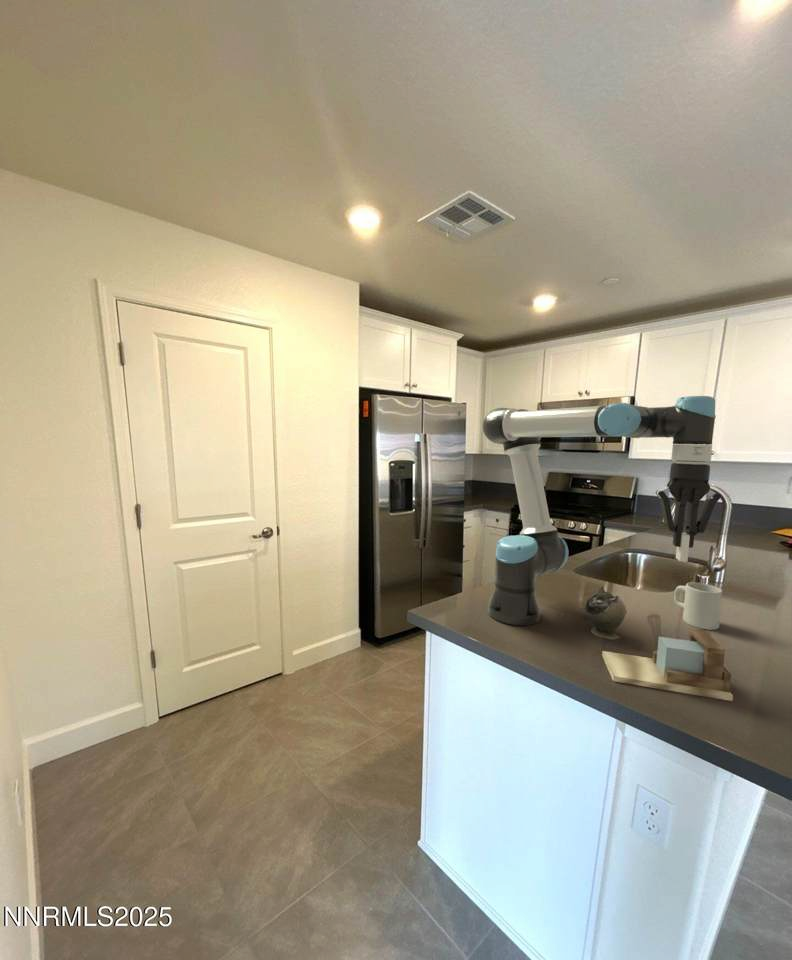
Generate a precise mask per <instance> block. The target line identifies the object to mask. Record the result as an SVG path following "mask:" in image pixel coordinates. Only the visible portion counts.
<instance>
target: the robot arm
mask: <svg viewBox="0 0 792 960" xmlns="http://www.w3.org/2000/svg"><path fill="white" fill-rule="evenodd" d="M716 417H717V416H716V399H715V398H714V397H712V396H710V395H690V396H682V397H678V398H677V399H676V402H675V404H674V405H673V406H666V407H665V406H658V407H647V406H641V405H635V404H630V403H628V402H616V403H610V404H608V405H594V406H579V407H577V406H576V407H565V408H549V409H536V410H529V409H521V408H519V409H517V408H515V407H513V408H509V407H508V408H507V407H496V408H494V409H492V410H490V411H489V412H487V414H486V415H485V417H484V418H483V421H482V432H483V434H484V436H485V437H486V439H487V440H488V441H490V442H492V443H493V444H497V445H502V446H503V452H504V454H506V455H507V456H508V457H509V458H510V463H511V470H512V474H513V480H514V485H515V490H516V491H515V492H516V495H517V501H518V507H519V511H520V516H521V521H522V522H521V523H522V529H521V531H519V534H517V535H507V536H503V537H501V538H500V539H499V540H498V541H497V544H496V551H495V570H494V571H495V576H494V578H495V579H494V588H493V590H492V594H491V595H490V598H489V600H488V604H487V613H488V615H489V616H490V617H491V618H492V619H494V620H495V621H498V622H501V623H503V624H509V625H513V626H530V625H534V624H536V623H538V622H539V621H540V618H541V616H540V615H541V610H540V607H539V602H538V599H537V595H536V580H537V577H541V576H543V575H545V574H551V573H554V572H556V571H558V570H559V569H561V568H563V567H564V566H565V564H566V563H567V562H568V559H569V548H568V543H567V542H566V540H565V539H563V538H562V537H561V536H559V532H558V528H557V527H556V526H554V525H552V523H551V517H550V512H549V507H548V502H547V498H546V496H547V495H546V492H545V488H544V487H545V486H544V481H543V477H542V471H541V466H540V461H539V460H540V459H539V456H538V451H539V449H540V447H541V439H542V438H564V437H565V438H568V437H571V438H572V437H573V438H575V437H576V438H577V437H582V438H584V437H585V438H586V437H587V438H588V437H613V438H614V437H615V438H616V437H624V438H632V439H641V438H646V439H647V438H669V439H670V438H672V448H671V449H672V450H671V458H670V459H671V461H673V463H671V464H670V469H669V470H670V471H669V481H668V483H667V484H666V486H665V487H664V488H662V489H657V490H655V495H656V496H657V498H658V499H659V503H660V507H661V512H662V513H661V514H662V517H663V518H662V519H663V523H664V527H665V528H666V529H667V530H668V531H671V532H672V533H673V538H672V544H673V546H674V547H676V550H675V551H676V552H675V559H676V560H678V561H679V562H685V563H688V559H689V551H690V548H691V549H692V548H693V547H694V544H695V543H694V541H695V536H697V534H704V533H705V531H706V529H707V526H708V523H709V521H710V518H711V516H712V513H713V511H714V508H715V506H716V504H717V503H718V501H719V500H720V499H721V498H722V494H720V493H717V492H715V491H714V490H712V489H711V485H710V484H709V480H710V476H711V475H710V474H711V473H710V472H711V465H710V464H708V463H710V462H711V460H712V452H713V438H714V429H715V423H716ZM670 494H671V496H672V497H673V499H674V504H675V505H674V513H672V508H671V503H670V499H669V497H670ZM704 497H705V500H704V502H703V504H702V507H701V509H700V512H699V514H698V510H699V506H700V501H701V500H702V499H703V498H704ZM686 507H687V508H686ZM685 512H686V517H685ZM673 514H674V515H673ZM685 518H686V519H685ZM684 523H685V524H684ZM684 525H685V532H684Z"/></svg>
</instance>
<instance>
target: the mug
mask: <svg viewBox="0 0 792 960" xmlns="http://www.w3.org/2000/svg"><path fill="white" fill-rule="evenodd" d="M681 591H683V592H685V593H684V602H682V601H680V597H679V596H680V592H681ZM673 599H674V603H675V605H676V606H677V607H679V608H681V609H683V613H682V620H683V622H684V623H686V624H688V625H690V626H692V627H694V628H696V629H700V630H708V631H709V630H710V631H715V630H718V629H719V628H720V623H721V622H720V620H721V612H722V611H721V609H722V600H723V589H721V588H720V587H717V586H715V585H711V584H707V583H702V582H693V581H692V582H687V583H686V585H678V586H676V588H675V589H674V594H673Z"/></svg>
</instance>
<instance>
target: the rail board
mask: <svg viewBox="0 0 792 960" xmlns="http://www.w3.org/2000/svg"><path fill="white" fill-rule="evenodd" d="M687 641H695V642H698V643H699V644H700V645H701V646H702V647H703V648H704V649H705V652H704V662H703V672H702V674H697V673H690V672H684V671H677V670H671V669H665V678H664V677H663V675H662V674H661V672H660V671H659V669H658V668H657V666H656V662H657V650H653V651H652V658H651V657H646V656H645V657H644V656H639V655H632V654H627V653H626V654H625V653H619V652H611V651H606V650H602V654H601V656H602V659H603V661H604V663H605V666H606V668H607V670H608V672H609V674H610V678H611V679H612V681H613V682H614V683H623V684H628V685H634V686H640V687H647V688H653V689H658V690H663V691H670V692H676V693H682V694H688V695H694V696H700V697H704V698H706V697H707V698H712V699H719V700H724V701H730V702H733V700H734V695H733V694H732V693H731V692H730V688H731V681H732V680H731V679H732V673H731V672H730V671H729V669H727V668H726V667H725V666H724V664H725V656H726V655H725V654H726V653H725V652H726V650H725V648H724V647H723V646H722V645H721V644H719V643H718V642H717V641H716V640H715V639H714V638H713V637H712V636H711V635H710V634H709V633H708V632H707V631H706V629H700V628H691V627H690V628H688V638H687Z"/></svg>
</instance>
